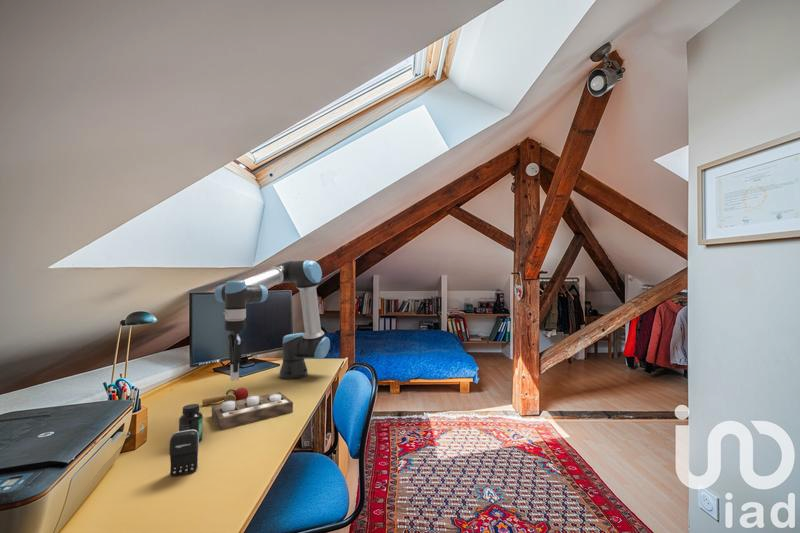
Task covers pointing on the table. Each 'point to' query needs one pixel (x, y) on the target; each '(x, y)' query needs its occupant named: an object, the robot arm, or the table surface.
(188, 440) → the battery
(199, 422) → the supplement bottle
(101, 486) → the table surface
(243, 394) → the kendama
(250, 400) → the button middle
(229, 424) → the button board
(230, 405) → the button
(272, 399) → the button
